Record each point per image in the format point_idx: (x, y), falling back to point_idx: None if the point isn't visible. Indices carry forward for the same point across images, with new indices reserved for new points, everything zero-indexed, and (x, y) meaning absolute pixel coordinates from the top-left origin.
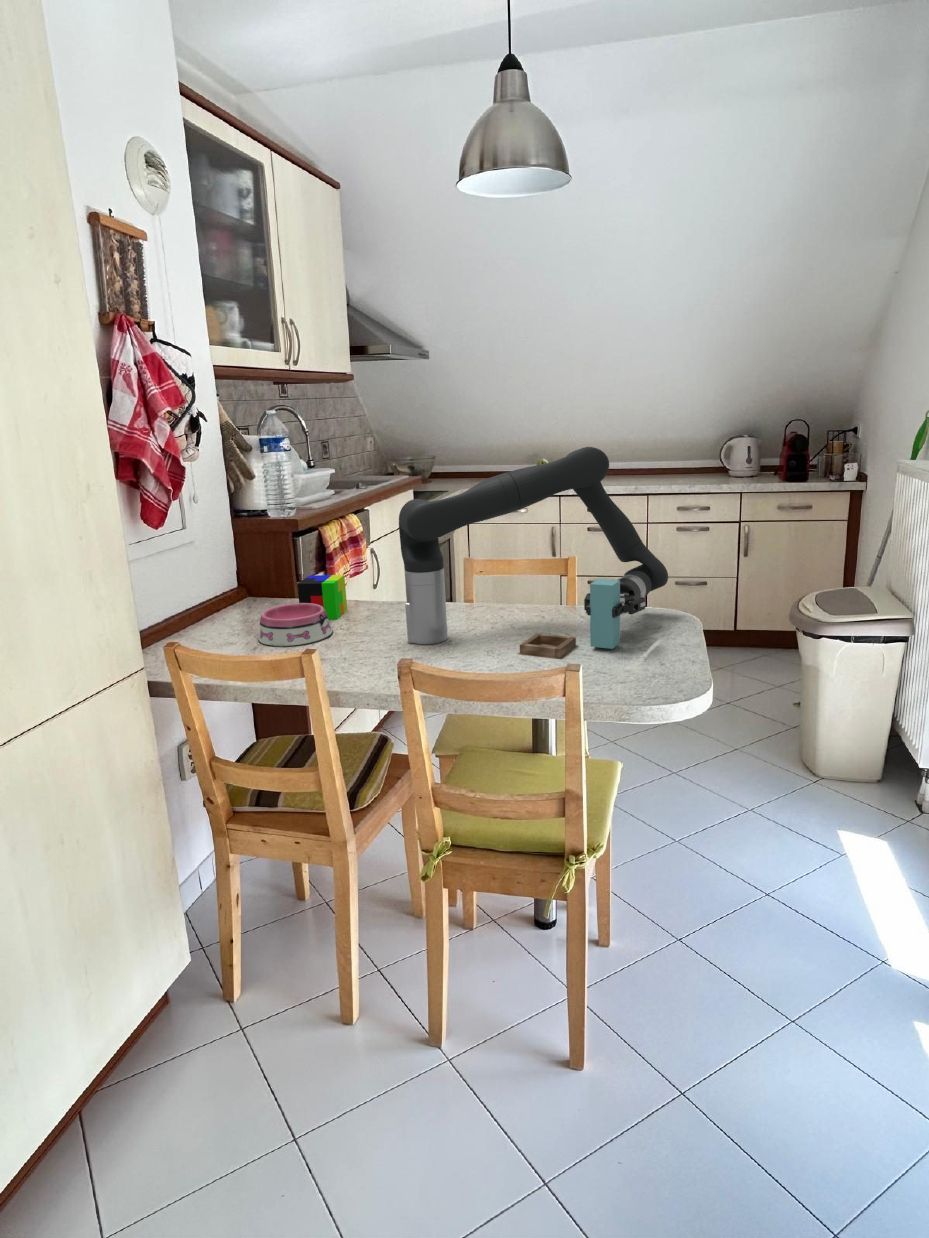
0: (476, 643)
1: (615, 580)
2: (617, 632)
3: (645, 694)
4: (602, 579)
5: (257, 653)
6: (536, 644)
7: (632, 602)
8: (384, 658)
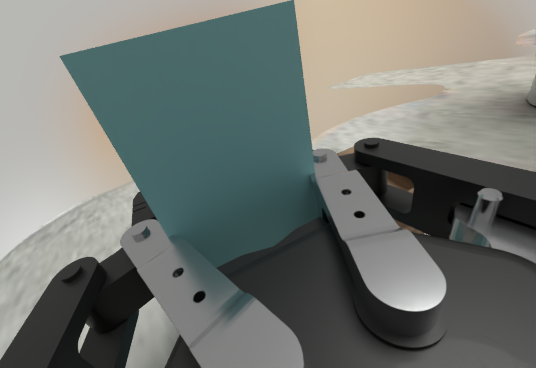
0: (521, 139)
1: (112, 44)
2: None
3: (81, 225)
4: (246, 11)
5: (521, 38)
6: (408, 185)
7: (63, 289)
8: (455, 81)
